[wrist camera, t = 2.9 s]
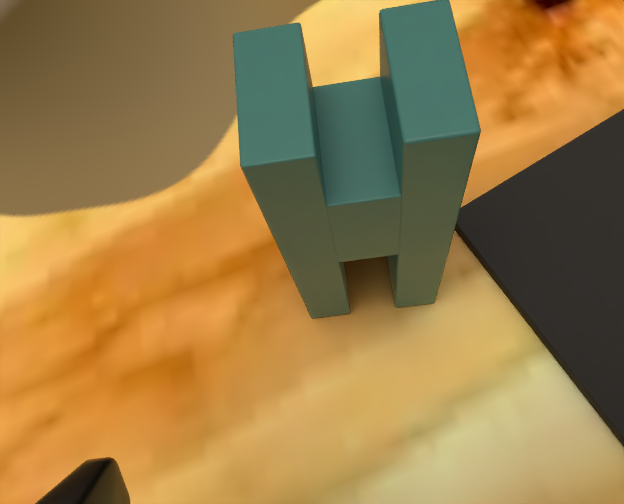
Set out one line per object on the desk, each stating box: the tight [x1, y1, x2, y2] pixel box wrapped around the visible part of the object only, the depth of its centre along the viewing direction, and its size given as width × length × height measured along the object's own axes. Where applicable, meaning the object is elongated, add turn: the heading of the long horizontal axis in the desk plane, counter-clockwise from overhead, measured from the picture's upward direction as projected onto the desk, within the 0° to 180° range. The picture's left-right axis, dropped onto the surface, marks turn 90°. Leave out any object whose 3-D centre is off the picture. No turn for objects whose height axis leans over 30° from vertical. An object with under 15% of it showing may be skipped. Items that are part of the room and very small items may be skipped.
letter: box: [233, 0, 481, 319], centre depth 18 cm, size 5×4×12 cm
